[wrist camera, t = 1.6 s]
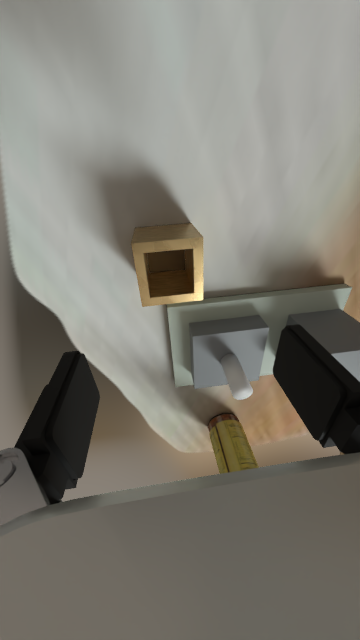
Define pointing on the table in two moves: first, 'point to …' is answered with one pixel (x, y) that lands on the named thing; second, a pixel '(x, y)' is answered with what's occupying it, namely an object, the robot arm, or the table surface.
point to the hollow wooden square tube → (169, 283)
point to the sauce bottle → (230, 444)
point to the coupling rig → (256, 334)
